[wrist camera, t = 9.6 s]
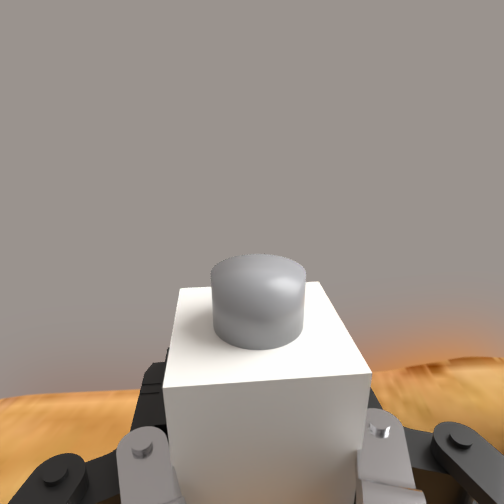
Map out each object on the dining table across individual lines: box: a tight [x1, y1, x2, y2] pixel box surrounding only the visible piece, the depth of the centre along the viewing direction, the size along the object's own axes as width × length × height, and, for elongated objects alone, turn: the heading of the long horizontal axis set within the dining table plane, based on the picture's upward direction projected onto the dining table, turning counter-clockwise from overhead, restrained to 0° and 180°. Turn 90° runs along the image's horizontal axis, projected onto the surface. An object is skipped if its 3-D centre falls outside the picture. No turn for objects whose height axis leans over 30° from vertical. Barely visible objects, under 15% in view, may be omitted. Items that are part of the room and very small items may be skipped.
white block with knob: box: [163, 254, 372, 504], centre depth 12 cm, size 4×4×12 cm
